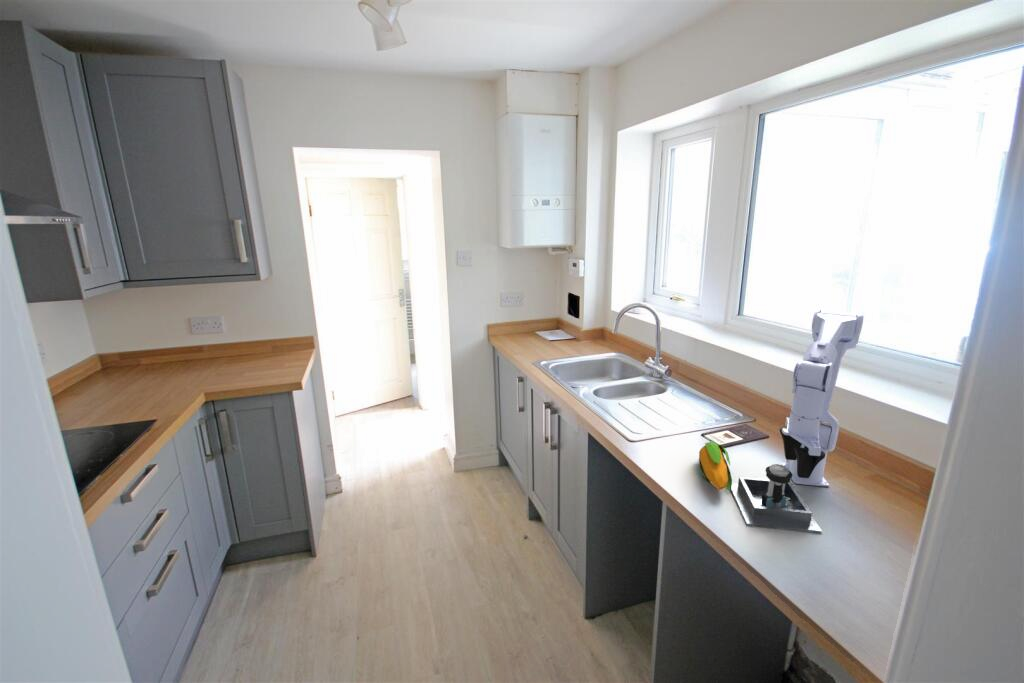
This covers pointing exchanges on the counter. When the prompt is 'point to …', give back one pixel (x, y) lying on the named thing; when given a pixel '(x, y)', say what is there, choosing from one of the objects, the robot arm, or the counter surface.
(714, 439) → the chocolate bar
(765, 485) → the grey metal tray
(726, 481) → the corn
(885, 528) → the counter surface
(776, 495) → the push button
